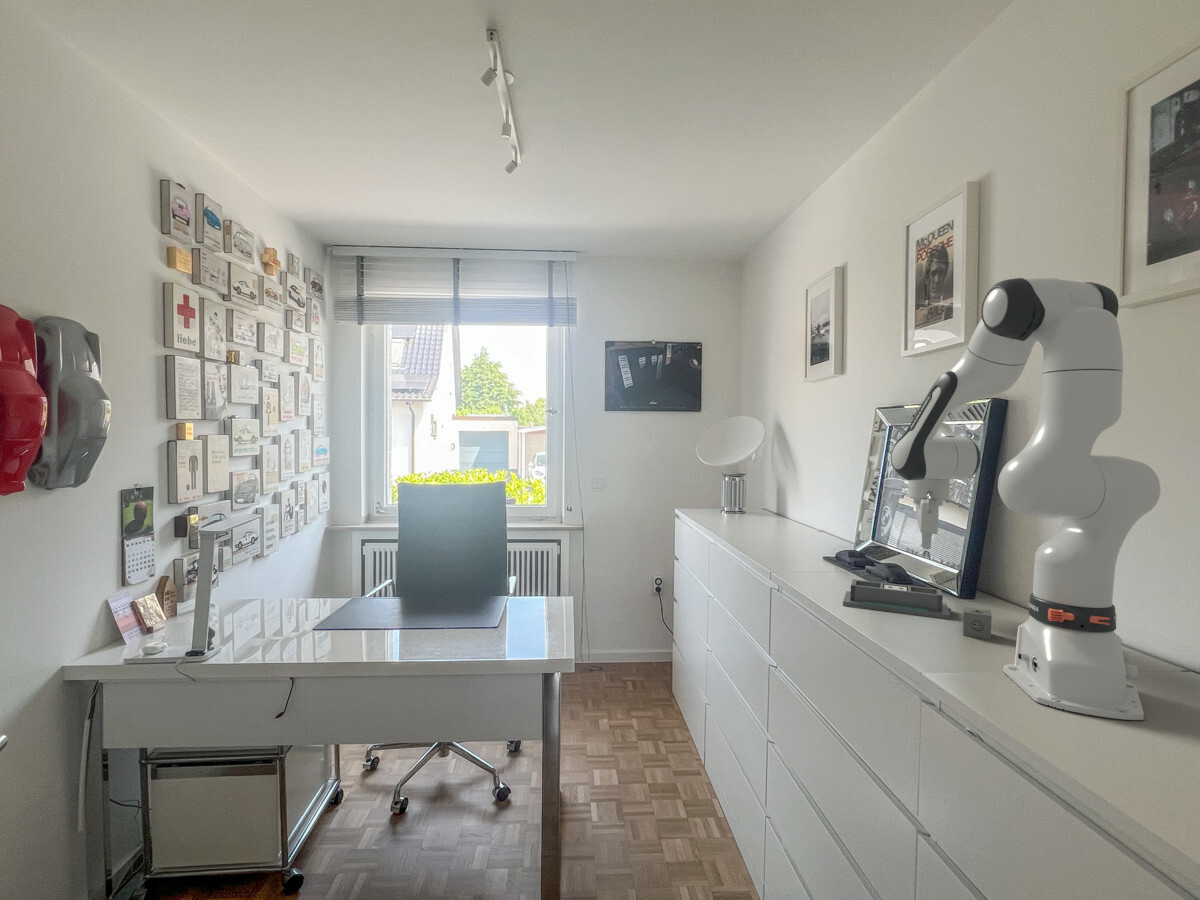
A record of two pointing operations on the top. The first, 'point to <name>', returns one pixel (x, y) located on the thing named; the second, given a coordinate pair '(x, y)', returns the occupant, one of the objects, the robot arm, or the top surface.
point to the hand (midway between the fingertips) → (926, 548)
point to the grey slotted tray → (897, 599)
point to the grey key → (895, 587)
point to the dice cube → (977, 623)
